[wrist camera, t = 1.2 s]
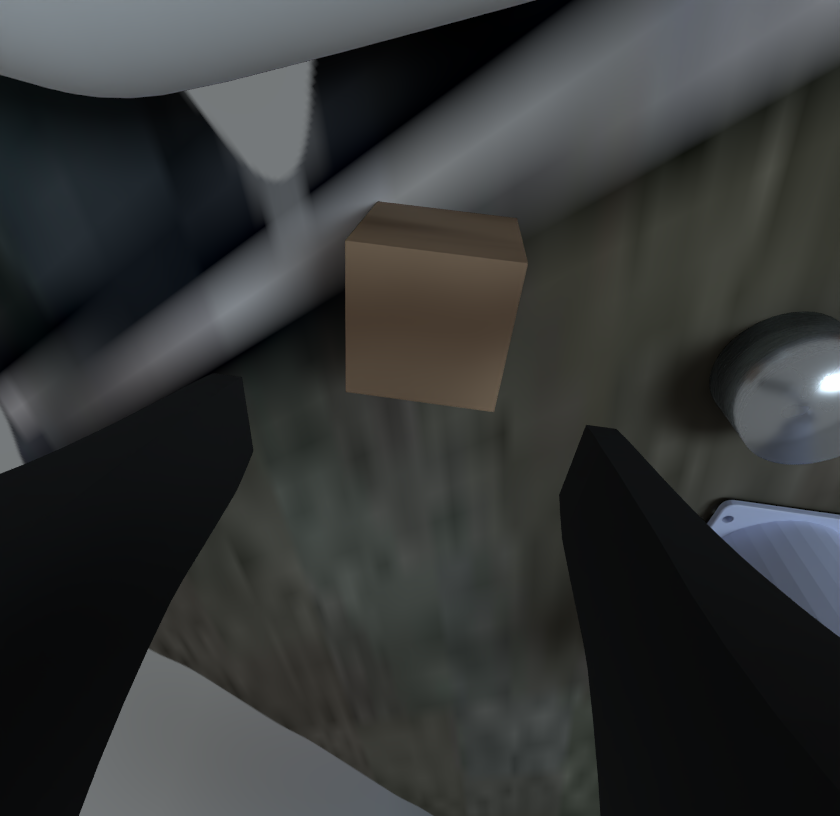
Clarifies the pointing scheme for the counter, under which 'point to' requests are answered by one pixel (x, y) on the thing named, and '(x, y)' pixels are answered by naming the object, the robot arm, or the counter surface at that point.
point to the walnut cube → (431, 304)
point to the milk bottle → (197, 38)
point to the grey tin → (783, 387)
